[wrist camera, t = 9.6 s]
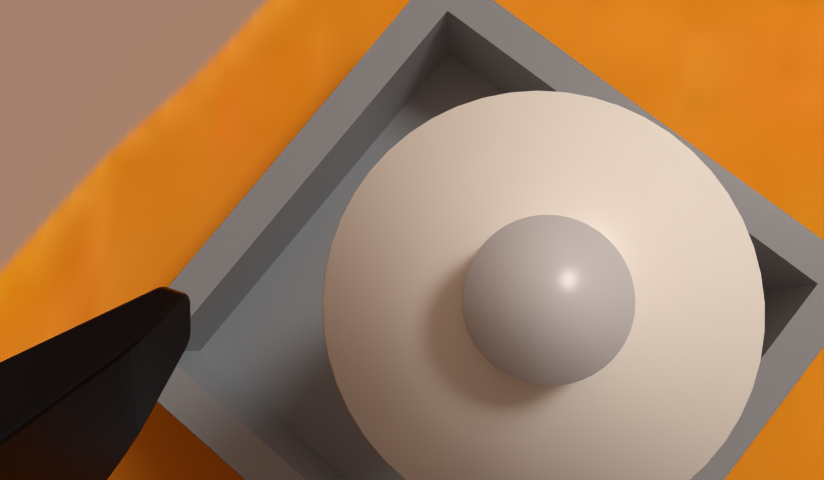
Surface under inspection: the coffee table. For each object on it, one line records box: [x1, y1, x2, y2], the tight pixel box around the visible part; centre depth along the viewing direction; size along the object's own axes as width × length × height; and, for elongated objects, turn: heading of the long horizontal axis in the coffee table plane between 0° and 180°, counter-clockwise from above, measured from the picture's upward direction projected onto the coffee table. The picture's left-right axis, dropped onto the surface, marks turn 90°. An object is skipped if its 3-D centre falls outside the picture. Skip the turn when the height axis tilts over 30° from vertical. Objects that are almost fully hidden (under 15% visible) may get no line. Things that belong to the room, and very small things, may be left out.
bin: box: [157, 0, 824, 480], centre depth 20 cm, size 14×14×4 cm
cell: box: [322, 91, 765, 480], centre depth 14 cm, size 5×5×14 cm
